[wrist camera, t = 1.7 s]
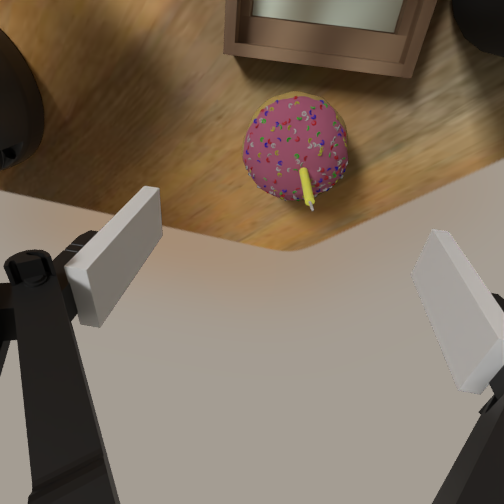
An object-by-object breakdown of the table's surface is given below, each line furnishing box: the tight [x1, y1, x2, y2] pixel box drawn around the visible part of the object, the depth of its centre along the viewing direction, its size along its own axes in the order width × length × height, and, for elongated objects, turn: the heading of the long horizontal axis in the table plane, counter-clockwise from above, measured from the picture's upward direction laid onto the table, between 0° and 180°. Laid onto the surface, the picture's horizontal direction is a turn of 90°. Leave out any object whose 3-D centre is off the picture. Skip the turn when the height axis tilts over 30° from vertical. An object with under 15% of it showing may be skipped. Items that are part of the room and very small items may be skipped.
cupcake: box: [242, 91, 348, 211], centre depth 26 cm, size 9×8×12 cm
